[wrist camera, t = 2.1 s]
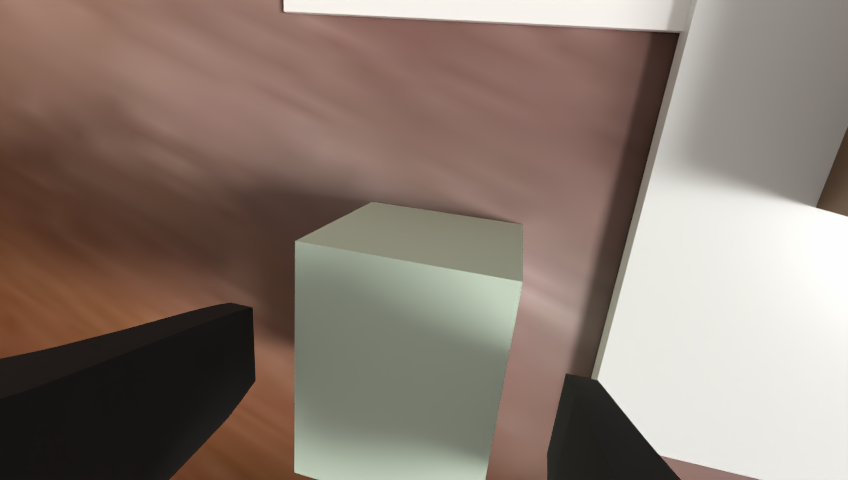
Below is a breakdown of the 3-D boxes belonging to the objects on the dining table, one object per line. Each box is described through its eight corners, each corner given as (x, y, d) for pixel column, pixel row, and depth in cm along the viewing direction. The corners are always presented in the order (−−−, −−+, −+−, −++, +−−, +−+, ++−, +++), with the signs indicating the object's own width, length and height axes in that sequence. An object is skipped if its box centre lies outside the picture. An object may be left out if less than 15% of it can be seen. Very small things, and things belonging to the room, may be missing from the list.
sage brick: (491, 398, 13) (476, 527, 9) (363, 368, 14) (294, 472, 10) (522, 223, 11) (522, 281, 7) (373, 201, 12) (294, 240, 8)
